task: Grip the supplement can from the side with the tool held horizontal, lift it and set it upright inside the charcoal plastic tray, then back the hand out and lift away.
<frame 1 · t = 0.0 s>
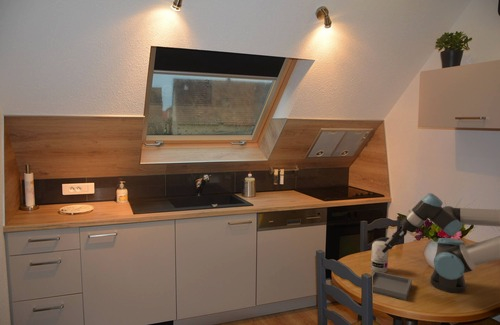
hand: (381, 251, 180), 15 cm above the table, tool tilted 35°, fingers open, 13 cm apart
tray: (388, 287, 175), on the table
supplement can: (378, 270, 195), on the table
rubber mallet: (440, 259, 211), on the table
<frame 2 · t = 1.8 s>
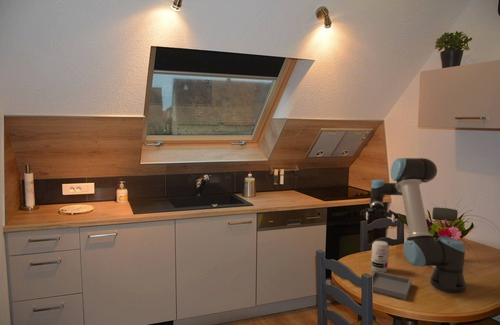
hand: (380, 218, 200), 25 cm above the table, tool horizontal, fingers open, 13 cm apart
nothing on the table moved.
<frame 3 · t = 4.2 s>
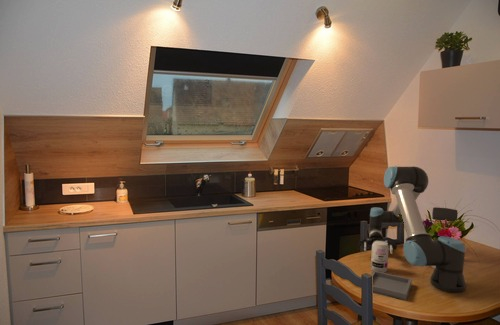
hand: (378, 250, 201), 8 cm above the table, tool horizontal, fingers open, 13 cm apart
nothing on the table moved.
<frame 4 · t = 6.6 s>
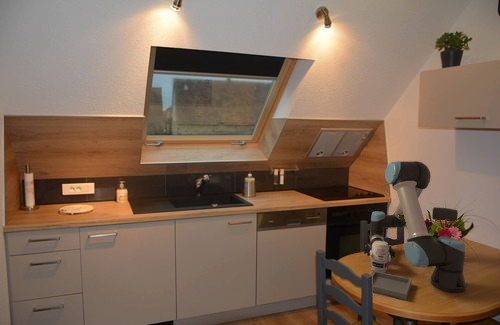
hand: (380, 258, 189), 9 cm above the table, tool horizontal, fingers closed on supplement can, 8 cm apart
supplement can: (378, 270, 195), on the table, touching gripper
everything else where it was.
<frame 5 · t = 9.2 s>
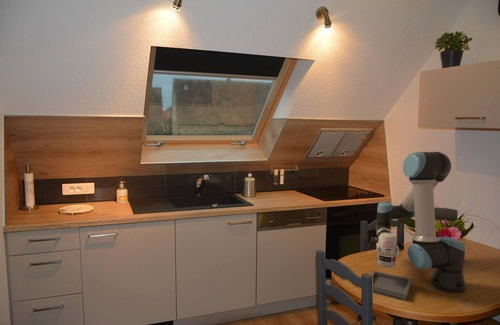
hand: (387, 251, 172), 18 cm above the table, tool horizontal, fingers closed on supplement can, 8 cm apart
supplement can: (386, 265, 178), point 9 cm above the table, touching gripper
everything else where it was.
when the fingers open (11 cm above the table, at t = 12.0 s): supplement can drops 1 cm, resting on tray.
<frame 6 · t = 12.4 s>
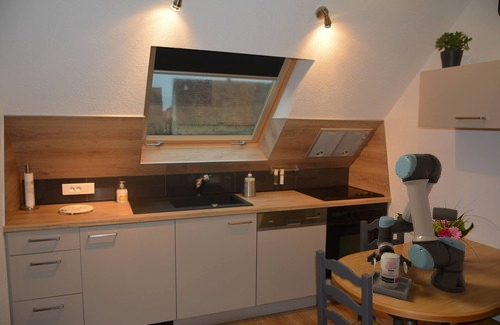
hand: (390, 268, 171), 11 cm above the table, tool horizontal, fingers open, 13 cm apart
supplement can: (388, 286, 175), point 1 cm above the table, touching tray
everything else where it was.
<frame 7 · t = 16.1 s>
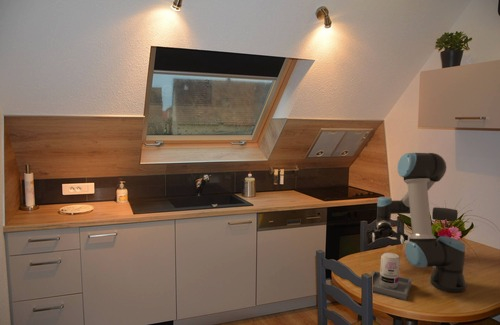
hand: (388, 240, 183), 20 cm above the table, tool horizontal, fingers open, 13 cm apart
nothing on the table moved.
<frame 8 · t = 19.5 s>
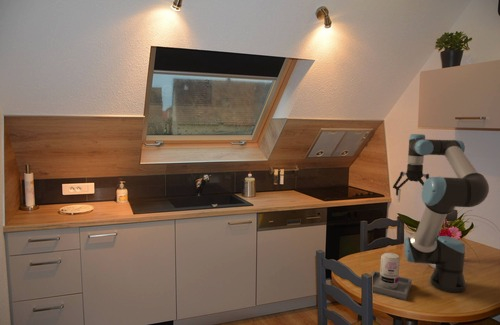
hand: (412, 203, 197), 35 cm above the table, tool pointing down, fingers open, 13 cm apart
nothing on the table moved.
at the end: supplement can inside the target area on the tray (0.1 cm from its centre), point 0.8 cm above the tray's base; supplement can tilted 0°; the gripper is holding nothing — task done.
